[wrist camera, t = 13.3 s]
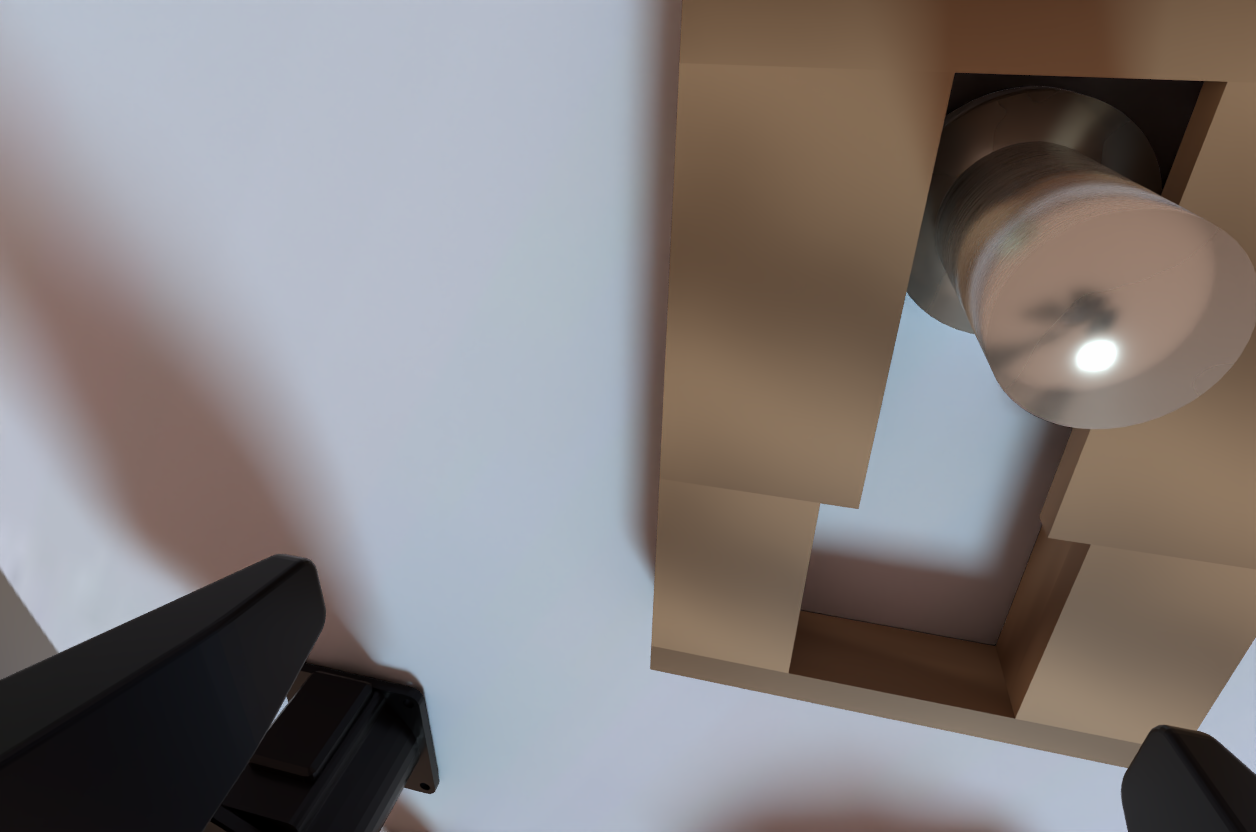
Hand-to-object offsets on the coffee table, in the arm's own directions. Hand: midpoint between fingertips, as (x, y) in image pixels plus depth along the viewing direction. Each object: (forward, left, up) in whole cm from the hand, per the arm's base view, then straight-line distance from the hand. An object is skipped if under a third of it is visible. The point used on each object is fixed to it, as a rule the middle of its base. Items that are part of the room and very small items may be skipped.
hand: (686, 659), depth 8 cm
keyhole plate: (-1, -5, -12) cm, 13 cm away
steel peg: (+2, -5, -12) cm, 13 cm away
